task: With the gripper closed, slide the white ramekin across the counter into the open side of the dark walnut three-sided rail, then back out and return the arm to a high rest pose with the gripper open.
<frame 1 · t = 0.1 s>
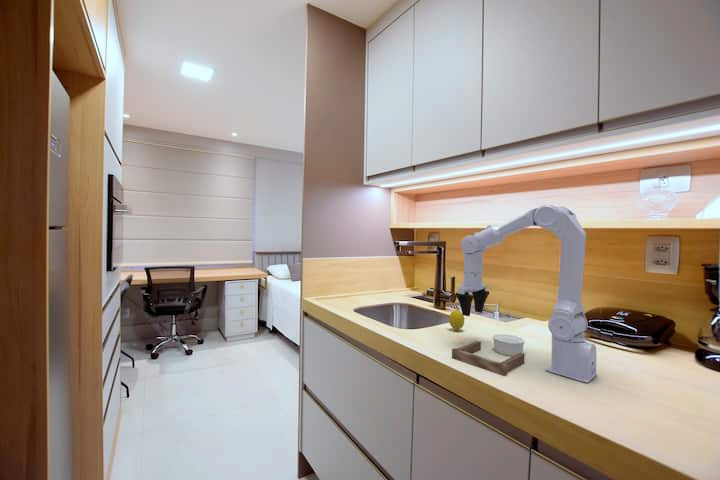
hand: (472, 313, 105), 10 cm above the counter, tool pointing down, fingers open, 7 cm apart
walnut rail: (490, 359, 91), on the counter
ramekin: (508, 352, 98), on the counter
lemon: (456, 331, 121), on the counter
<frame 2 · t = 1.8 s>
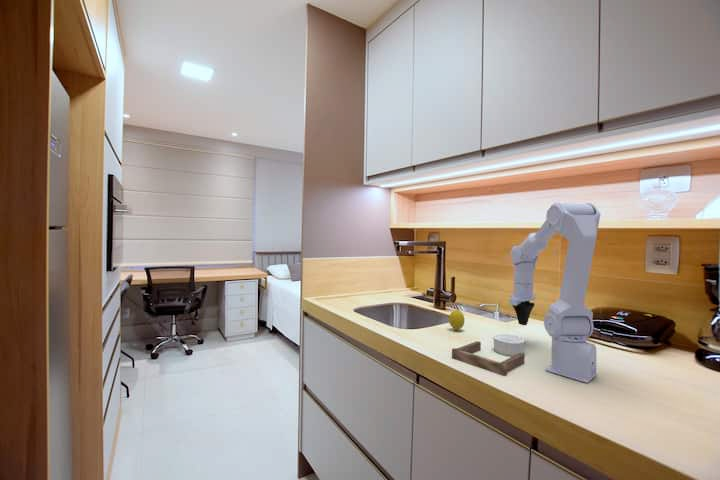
hand: (522, 324, 105), 7 cm above the counter, tool pointing down, fingers closed
nothing on the counter moved.
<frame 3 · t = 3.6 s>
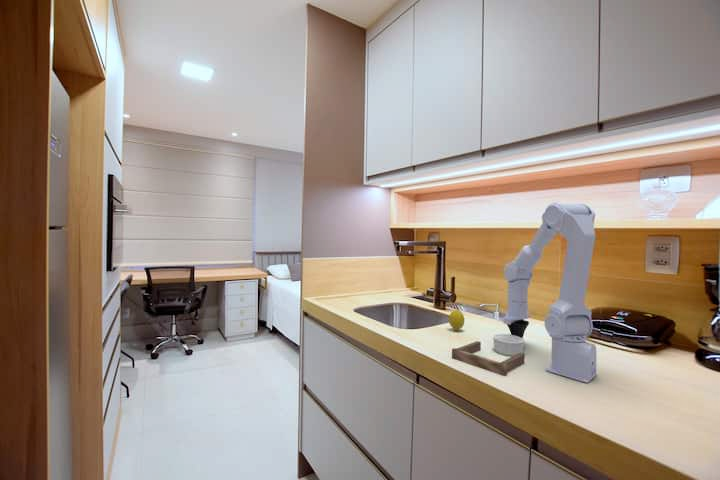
hand: (517, 343, 102), 1 cm above the counter, tool pointing down, fingers closed
ramekin: (508, 352, 98), on the counter, touching gripper
everything else where it was.
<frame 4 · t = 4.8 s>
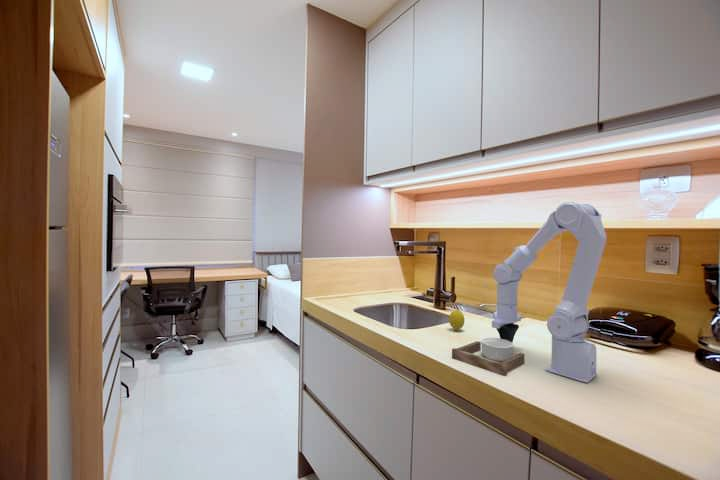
hand: (506, 347, 98), 1 cm above the counter, tool pointing down, fingers closed
ramekin: (496, 357, 94), on the counter, touching gripper
everything else where it was.
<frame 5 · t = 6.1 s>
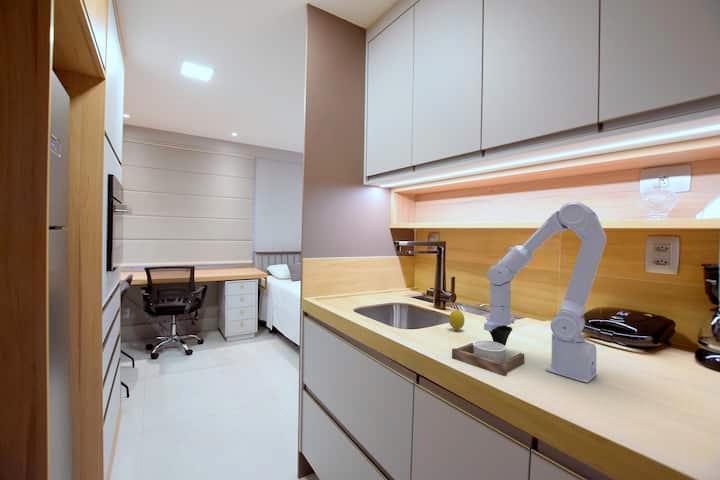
hand: (499, 350, 95), 1 cm above the counter, tool pointing down, fingers closed
ramekin: (489, 360, 91), on the counter, touching gripper
everything else where it was.
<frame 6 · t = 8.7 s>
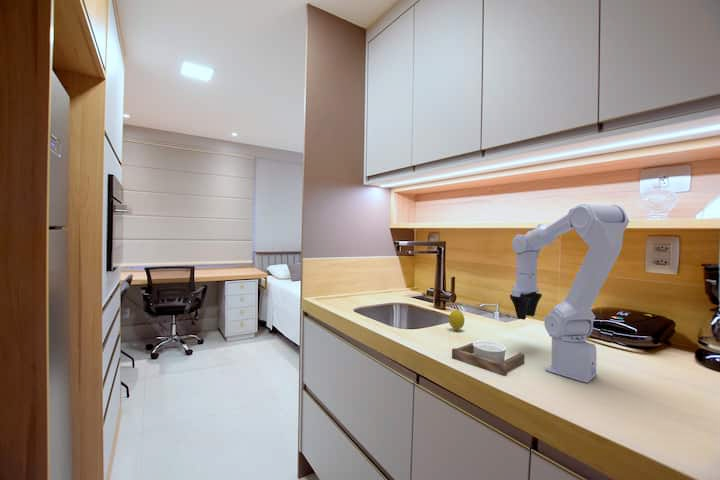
hand: (525, 317, 99), 10 cm above the counter, tool pointing down, fingers open, 6 cm apart
ramekin: (489, 361, 91), on the counter
everything else where it was.
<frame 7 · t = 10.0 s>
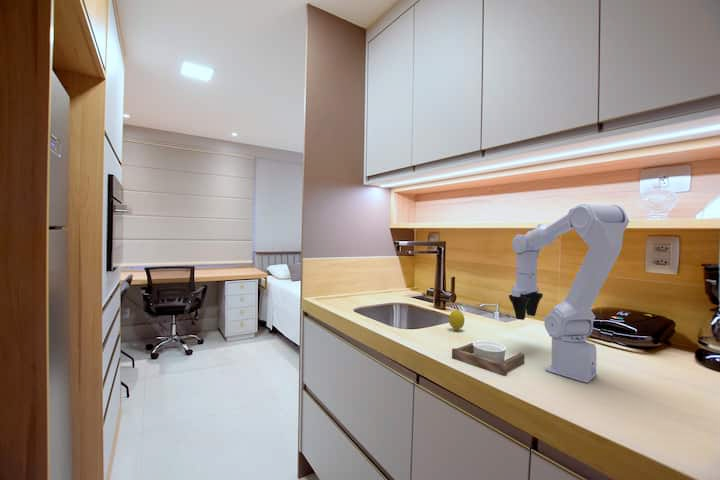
hand: (525, 317, 99), 10 cm above the counter, tool pointing down, fingers open, 7 cm apart
nothing on the counter moved.
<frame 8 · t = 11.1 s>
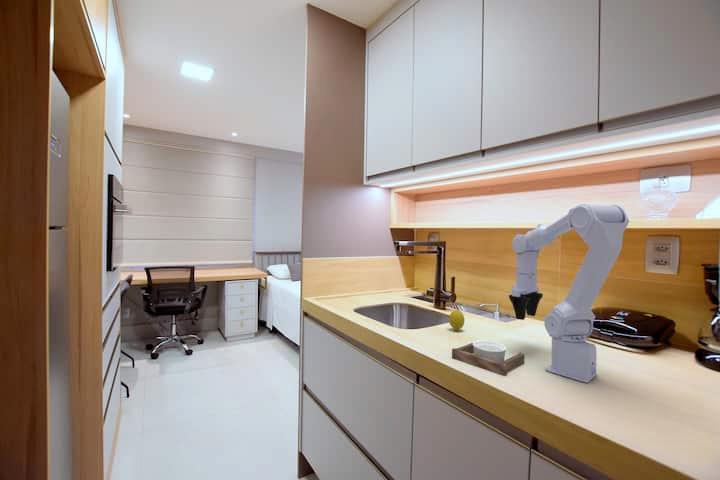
hand: (525, 317, 99), 10 cm above the counter, tool pointing down, fingers open, 7 cm apart
nothing on the counter moved.
at the end: ramekin 0.3 cm from the target spot, on the counter; ramekin tilted 0°; lemon moved 0.2 cm from its start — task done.
